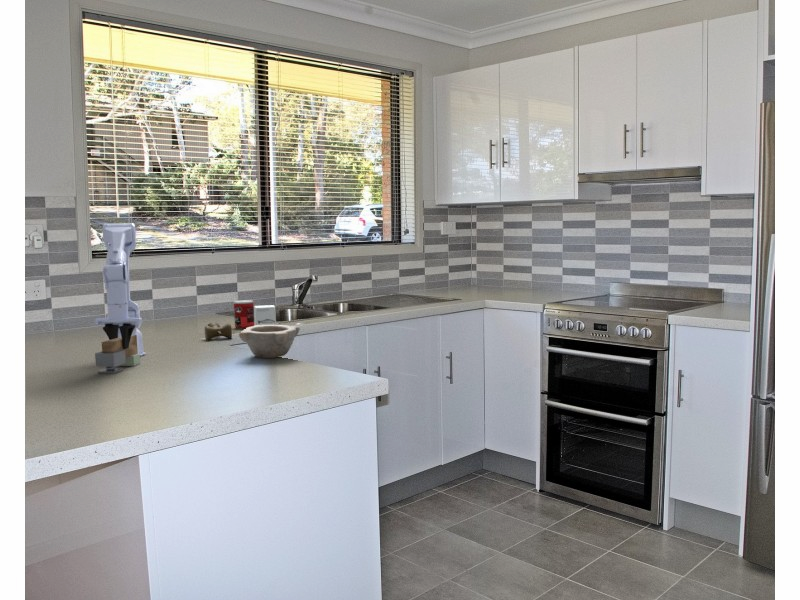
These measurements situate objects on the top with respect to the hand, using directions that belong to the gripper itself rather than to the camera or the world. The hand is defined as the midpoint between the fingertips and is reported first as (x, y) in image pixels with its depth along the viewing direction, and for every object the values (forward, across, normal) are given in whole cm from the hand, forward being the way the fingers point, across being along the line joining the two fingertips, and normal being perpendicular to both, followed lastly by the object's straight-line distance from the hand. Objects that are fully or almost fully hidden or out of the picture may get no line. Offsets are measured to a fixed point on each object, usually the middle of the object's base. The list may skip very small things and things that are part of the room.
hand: (120, 348), depth 216 cm
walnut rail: (+3, 0, 0) cm, 3 cm away
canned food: (+6, +6, +82) cm, 82 cm away
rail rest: (+6, 0, +4) cm, 7 cm away
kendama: (+6, +6, +56) cm, 57 cm away
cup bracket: (+6, 0, -6) cm, 8 cm away
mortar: (+6, +40, +21) cm, 46 cm away
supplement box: (+6, +27, +51) cm, 58 cm away
